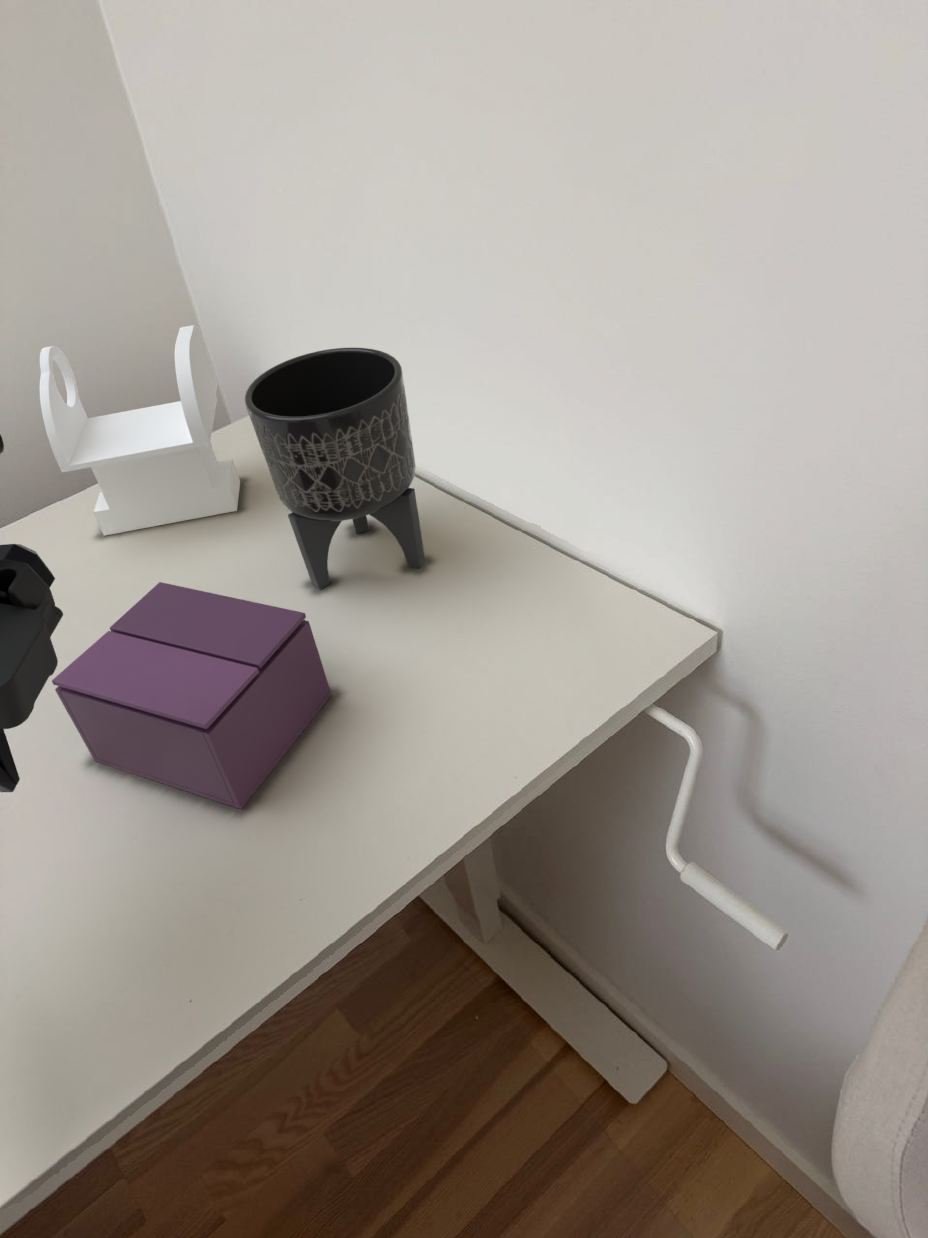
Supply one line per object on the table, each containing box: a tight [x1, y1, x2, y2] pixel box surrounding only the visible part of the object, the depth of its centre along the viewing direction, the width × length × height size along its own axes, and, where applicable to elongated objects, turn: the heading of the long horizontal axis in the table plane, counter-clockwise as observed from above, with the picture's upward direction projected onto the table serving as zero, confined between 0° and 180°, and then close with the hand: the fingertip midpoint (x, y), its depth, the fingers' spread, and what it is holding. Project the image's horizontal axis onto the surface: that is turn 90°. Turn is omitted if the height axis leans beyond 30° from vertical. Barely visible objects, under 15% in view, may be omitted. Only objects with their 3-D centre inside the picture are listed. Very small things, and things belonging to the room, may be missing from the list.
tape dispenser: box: [39, 324, 241, 537], centre depth 96 cm, size 14×13×18 cm
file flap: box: [51, 630, 259, 729], centre depth 66 cm, size 6×14×1 cm, turn 64°
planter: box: [244, 346, 426, 590], centre depth 83 cm, size 13×13×18 cm
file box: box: [54, 581, 332, 810], centre depth 71 cm, size 12×14×8 cm
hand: (9, 786), depth 53 cm, fingers closed
